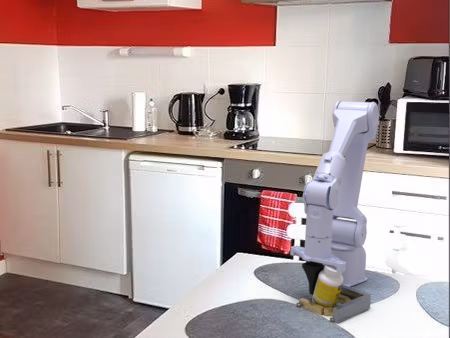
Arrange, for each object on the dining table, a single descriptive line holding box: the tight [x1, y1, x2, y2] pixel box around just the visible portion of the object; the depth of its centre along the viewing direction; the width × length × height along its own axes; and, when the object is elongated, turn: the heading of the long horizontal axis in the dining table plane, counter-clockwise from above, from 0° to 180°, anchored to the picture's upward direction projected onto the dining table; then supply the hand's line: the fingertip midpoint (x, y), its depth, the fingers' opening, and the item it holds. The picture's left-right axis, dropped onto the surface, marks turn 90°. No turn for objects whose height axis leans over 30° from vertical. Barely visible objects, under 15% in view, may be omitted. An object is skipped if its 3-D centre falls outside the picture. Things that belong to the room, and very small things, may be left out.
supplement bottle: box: [311, 264, 343, 307], centre depth 124 cm, size 5×5×10 cm
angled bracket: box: [295, 284, 372, 324], centre depth 126 cm, size 12×12×3 cm
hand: (315, 293), depth 127 cm, fingers closed, pressing on supplement bottle
